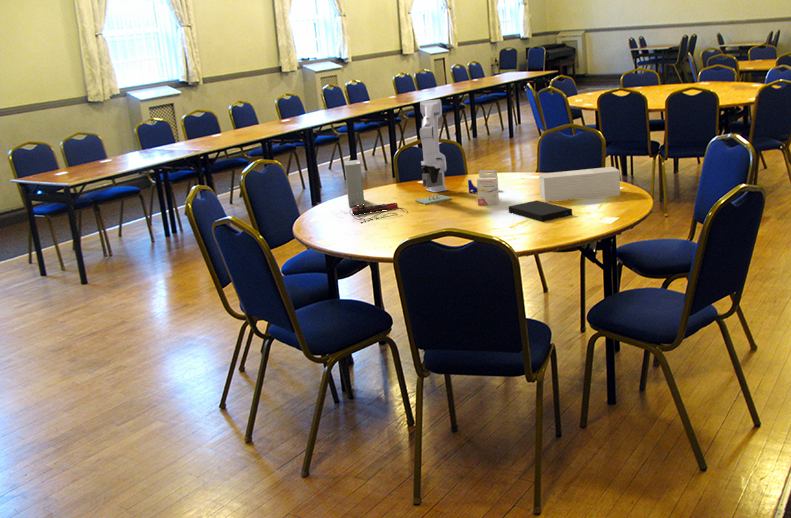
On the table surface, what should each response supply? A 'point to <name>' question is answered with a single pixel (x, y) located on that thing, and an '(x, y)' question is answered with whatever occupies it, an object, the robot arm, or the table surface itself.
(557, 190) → the long white block
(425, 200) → the board
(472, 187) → the cable clip
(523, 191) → the table surface
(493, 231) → the table surface
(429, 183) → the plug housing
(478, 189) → the ink cartridge box
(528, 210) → the external hard drive
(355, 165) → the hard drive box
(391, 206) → the digital clamp meter
